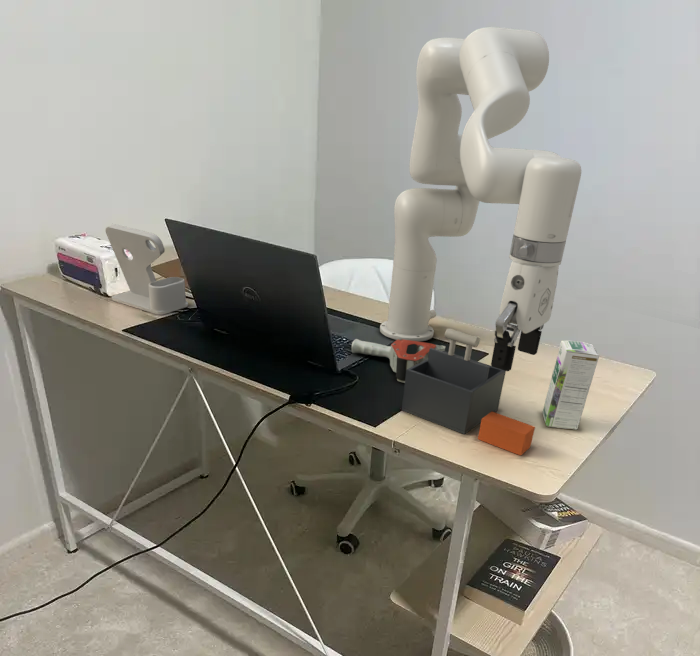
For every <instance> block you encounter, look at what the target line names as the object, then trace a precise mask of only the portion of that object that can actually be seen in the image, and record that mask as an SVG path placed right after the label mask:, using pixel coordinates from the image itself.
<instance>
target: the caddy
mask: <svg viewBox="0 0 700 656" xmlns="http://www.w3.org/2000/svg"><path fill="white" fill-rule="evenodd" d="M444 338H445V339H446V340H449V347H448V351H446V350H445V351H440V350H436V349H433V348H430V349H429V356H428V359H426V360H424V361H422V362H420V363H418V364H416V365H414V366H413V367H411V368H409V369H407V370H406V378H405V383H404V385H403V386H404V387H403V396H402V404H401V411H402V412H405V413H407V414H410V415H412V416H416V417H417V418H420V419H422V420H426V421H428V422H431V423H433V424H436V425H439V426H442V427H444V428H446V429H449V430H451V431H454V432H457V433H460V434H462V435H466V434H467V433H468V432H469V431H471V430H473V429H474V428H475V427H476V426H479V424H481V420H482V418H483V417H485V416H486V415H488V414H489V413H490V412H495V413H497V411H499V406H500V401H501V397H502V391H503V386H504V382H505V377H506V372H507V371H505V370H501V369H498V368H495V367H492V366H491V364H486V363H484V362H481V361H478V360H474V359H472V358H471V356H472V350H473V348H478V347H479V345H480V343H481V338H480V336H476V335H473V334H470V333H466V332H463V331H461V330H457V329H453V328H449V327H448V328H446V330H445V332H444ZM457 343H460V344H462V345H466V346H465V352H464V356H462V355H459V354H456V353H455V351H456V344H457Z"/></svg>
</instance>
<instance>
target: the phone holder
mask: <svg viewBox="0 0 700 656" xmlns="http://www.w3.org/2000/svg"><path fill="white" fill-rule="evenodd" d="M105 234H106V237H107V239H108V242H109V244H110V246H111V248H112V251H113V253H114V256H115V258H116V261H117V263H118V265H119V268H120V270H121V272H122V274H123V277H124V279H125V283H126V284H127V286H128V289H129V290H128V291H124V292H121V293H117V294H113V295H111V301H112V302H116V303H119V304H123V305H125V306H129V307H132V308H136V309H138V310H141V311H145V312H147V313H151V314H154V315H159V316H160V315H166V314H169V313H173V312H176V311H179V310H182V309H184V308H186V307H187V308H188V307H189V302H188V301H187V297H186V281H185V279H184V278H183V277H178V276H171V277H166V278H163V279H159V280H157V279H156V277H155V274H154V273H155V272H154V271H153V268H152V264H153V263H154V262H156V260H157V259H158V258H159V257H161V256H162V255H163V254H164V253H165V250H166V249H165V246H164V243H163V241H162V240H161V238H160V237H159V235H157V234H155V233H153V232H149V231H145V230H141V229H137V228H133V227H127V226H125V225H121V224H116V223H111V224H109V225H108V226H106V227H105ZM152 243H153V244H152ZM125 250H127V251H128V252H129V253H130V254H131V256H132V259H130V258H129V255H128V254H126V252H125Z"/></svg>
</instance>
